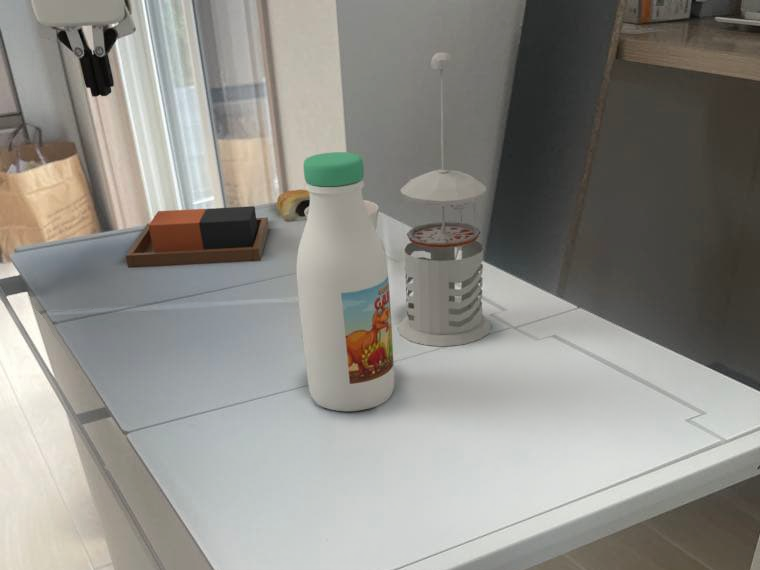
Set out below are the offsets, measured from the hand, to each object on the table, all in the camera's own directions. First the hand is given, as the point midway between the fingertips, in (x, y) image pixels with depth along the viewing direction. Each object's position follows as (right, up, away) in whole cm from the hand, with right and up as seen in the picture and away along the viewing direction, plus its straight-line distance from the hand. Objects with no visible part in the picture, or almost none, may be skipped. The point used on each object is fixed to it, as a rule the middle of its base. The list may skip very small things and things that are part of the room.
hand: (102, 94), depth 100 cm
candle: (+28, -18, +6) cm, 34 cm away
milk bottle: (+31, -40, -23) cm, 56 cm away
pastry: (+21, -6, +23) cm, 31 cm away
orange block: (+7, -14, +11) cm, 19 cm away
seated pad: (+13, -14, +11) cm, 22 cm away
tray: (+9, -15, +11) cm, 21 cm away
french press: (+40, -30, -11) cm, 52 cm away
